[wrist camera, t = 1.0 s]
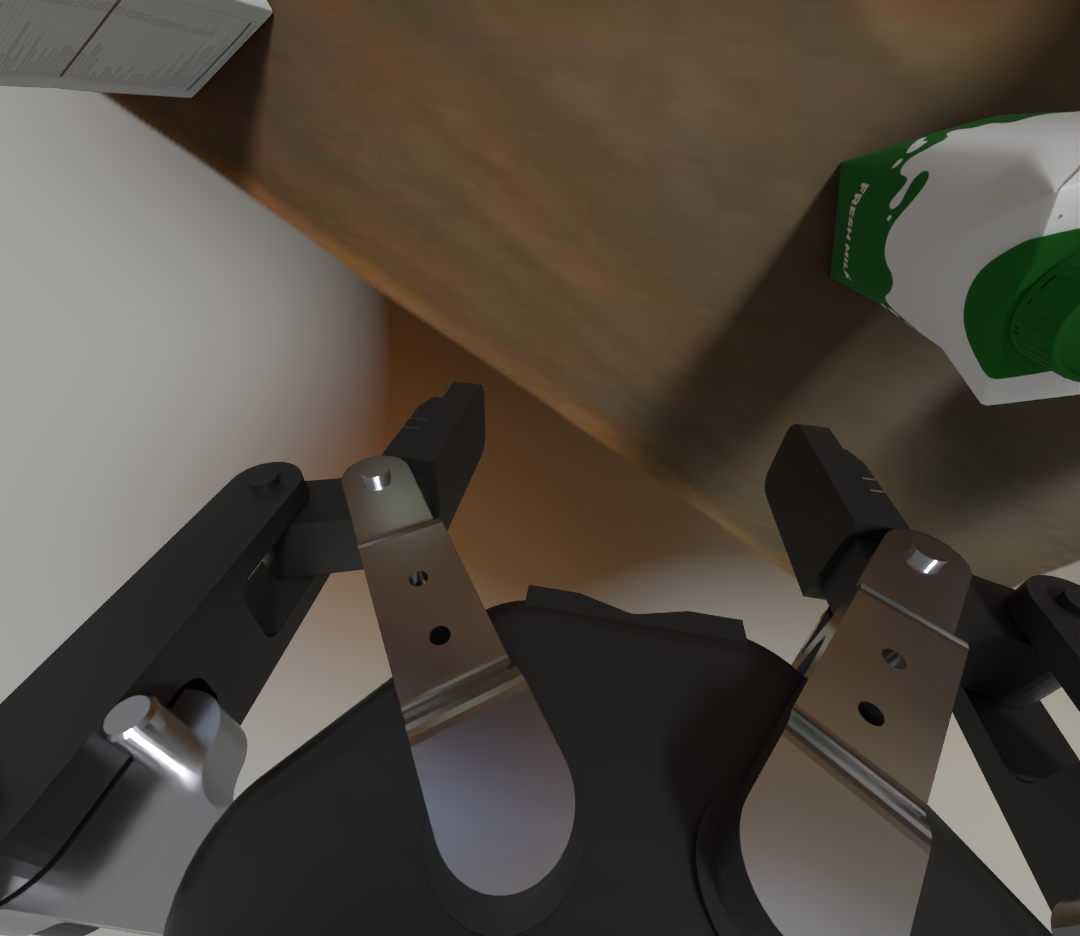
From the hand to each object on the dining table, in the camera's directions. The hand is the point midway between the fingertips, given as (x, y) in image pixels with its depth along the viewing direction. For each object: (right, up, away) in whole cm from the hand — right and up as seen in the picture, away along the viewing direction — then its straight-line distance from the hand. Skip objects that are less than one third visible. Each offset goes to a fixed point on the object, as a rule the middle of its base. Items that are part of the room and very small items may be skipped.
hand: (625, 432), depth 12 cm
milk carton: (+21, +16, +16) cm, 31 cm away
